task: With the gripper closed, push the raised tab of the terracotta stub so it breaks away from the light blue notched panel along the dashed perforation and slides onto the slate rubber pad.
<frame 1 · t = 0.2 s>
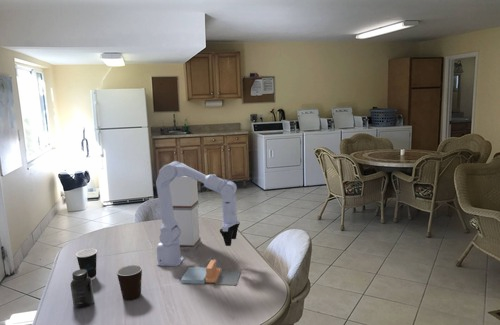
hand: (230, 242, 161), 10 cm above the table, fingers open, 7 cm apart
tall white rectangular box: (186, 245, 187), on the table
supplement bottle: (83, 304, 135), on the table
coffee mug: (133, 294, 140), on the table
pad: (228, 277, 150), on the table
stub: (213, 270, 151), point 3 cm above the table, slide at 0.0 cm
dixie cup: (89, 278, 154), on the table
light blue notched panel: (196, 276, 152), on the table
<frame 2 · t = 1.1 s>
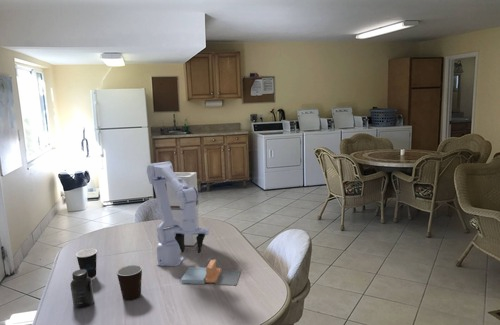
hand: (191, 251, 151), 10 cm above the table, fingers open, 6 cm apart
nothing on the table moved.
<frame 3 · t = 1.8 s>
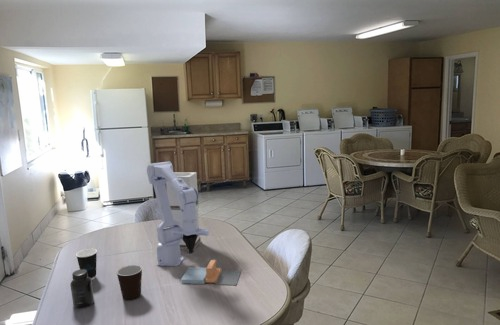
hand: (191, 252, 151), 10 cm above the table, fingers closed
nothing on the table moved.
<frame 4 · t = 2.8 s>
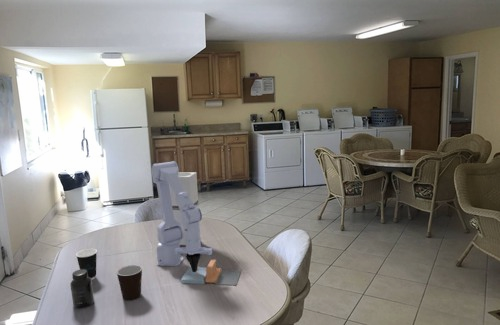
hand: (194, 271, 152), 2 cm above the table, fingers closed
nothing on the table moved.
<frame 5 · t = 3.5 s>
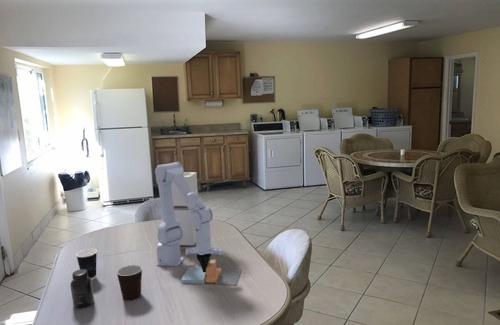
hand: (205, 271, 151), 2 cm above the table, fingers closed
stub: (213, 270, 151), point 3 cm above the table, slide at 0.0 cm, touching gripper
everything else where it was.
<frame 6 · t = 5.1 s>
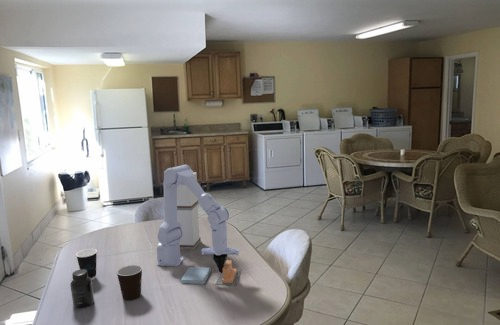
hand: (221, 271, 150), 2 cm above the table, fingers closed
stub: (229, 270, 150), point 3 cm above the table, slide at 6.5 cm, touching gripper
everything else where it was.
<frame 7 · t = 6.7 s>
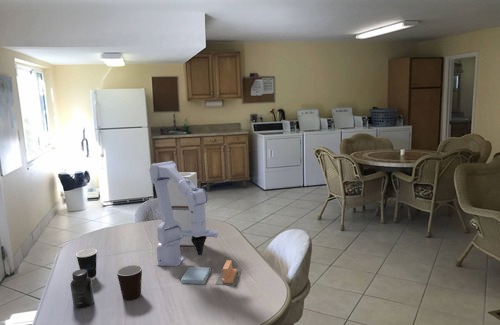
hand: (200, 254, 150), 10 cm above the table, fingers closed
stub: (229, 270, 150), point 3 cm above the table, slide at 6.5 cm
everything else where it was.
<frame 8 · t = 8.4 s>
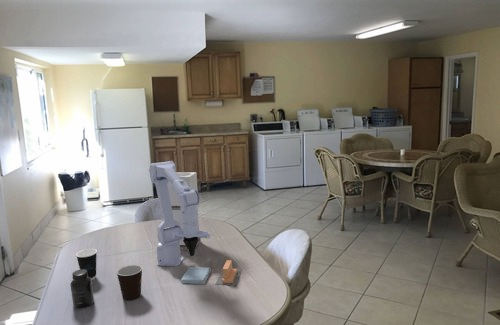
hand: (192, 255, 149), 10 cm above the table, fingers closed
nothing on the table moved.
at the end: stub slide at 6.5 cm; stub 0.2 cm from the target spot, resting on pad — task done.
